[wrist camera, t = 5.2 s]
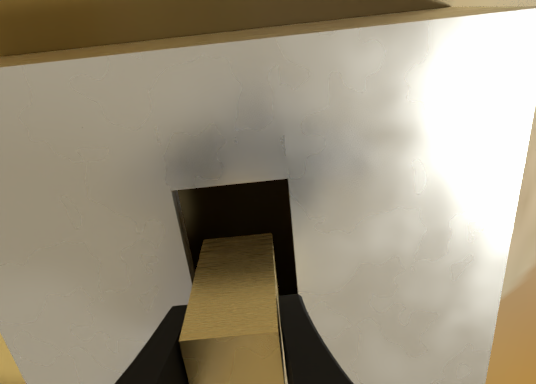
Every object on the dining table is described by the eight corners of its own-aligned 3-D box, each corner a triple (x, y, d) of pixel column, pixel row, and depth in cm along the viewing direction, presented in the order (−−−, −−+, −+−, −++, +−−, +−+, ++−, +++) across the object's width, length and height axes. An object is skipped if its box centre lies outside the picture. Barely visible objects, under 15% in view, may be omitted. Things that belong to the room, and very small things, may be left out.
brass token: (283, 338, 17) (293, 461, 12) (223, 344, 17) (210, 468, 12) (271, 233, 15) (278, 331, 10) (203, 239, 15) (178, 341, 10)
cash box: (428, 298, 24) (483, 392, 18) (100, 329, 25) (50, 432, 19) (452, 6, 17) (552, 6, 12) (0, 56, 18) (-126, 81, 12)
